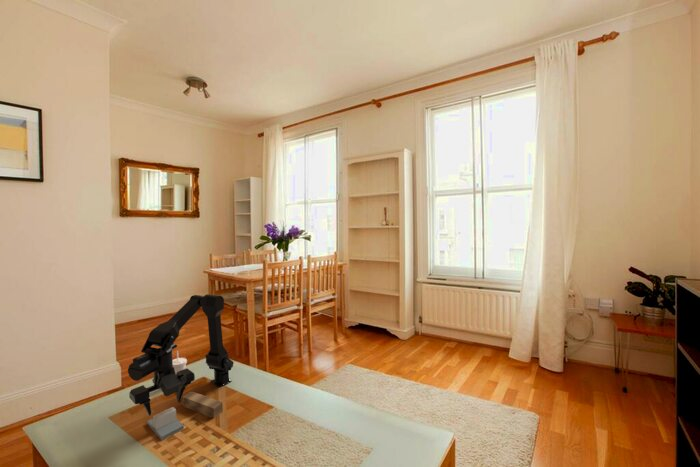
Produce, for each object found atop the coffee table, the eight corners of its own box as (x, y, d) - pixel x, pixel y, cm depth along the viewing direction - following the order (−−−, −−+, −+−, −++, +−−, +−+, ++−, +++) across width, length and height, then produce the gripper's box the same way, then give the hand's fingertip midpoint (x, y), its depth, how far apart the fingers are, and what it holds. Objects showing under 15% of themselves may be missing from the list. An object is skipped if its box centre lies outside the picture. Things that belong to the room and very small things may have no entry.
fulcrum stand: (147, 424, 111) (146, 410, 111) (168, 413, 116) (168, 401, 116) (161, 440, 104) (161, 426, 103) (183, 428, 109) (183, 415, 109)
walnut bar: (182, 406, 121) (182, 396, 121) (191, 400, 125) (191, 391, 124) (214, 418, 115) (213, 408, 114) (222, 412, 118) (222, 402, 118)
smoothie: (182, 376, 141) (182, 346, 140) (190, 381, 137) (189, 350, 136) (167, 383, 136) (166, 351, 135) (175, 388, 132) (174, 356, 131)
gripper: (140, 385, 96) (142, 434, 97) (201, 362, 110) (202, 404, 112) (127, 372, 103) (129, 418, 104) (186, 352, 117) (188, 392, 119)
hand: (164, 408), depth 109 cm, fingers open, 9 cm apart
